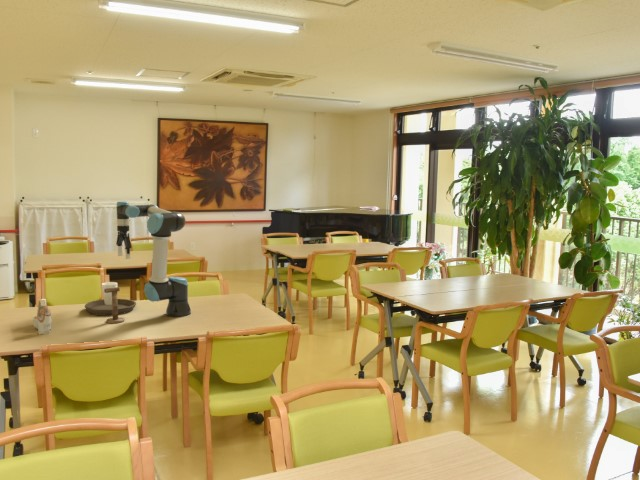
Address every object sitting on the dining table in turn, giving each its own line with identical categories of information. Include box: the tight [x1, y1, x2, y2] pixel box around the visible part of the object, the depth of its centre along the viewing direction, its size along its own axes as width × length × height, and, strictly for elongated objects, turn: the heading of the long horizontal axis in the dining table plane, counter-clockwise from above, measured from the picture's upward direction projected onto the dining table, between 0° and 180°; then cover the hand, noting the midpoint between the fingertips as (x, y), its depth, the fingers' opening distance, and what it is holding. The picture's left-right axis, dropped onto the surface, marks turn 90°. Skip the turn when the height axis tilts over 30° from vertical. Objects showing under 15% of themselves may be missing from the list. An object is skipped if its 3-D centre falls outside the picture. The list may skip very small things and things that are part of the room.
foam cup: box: [101, 281, 118, 305], centre depth 373 cm, size 10×9×13 cm
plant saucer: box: [84, 298, 137, 316], centre depth 374 cm, size 31×31×5 cm
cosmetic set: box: [32, 298, 52, 335], centre depth 330 cm, size 25×9×19 cm, turn 32°
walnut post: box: [104, 286, 125, 325], centre depth 347 cm, size 10×10×20 cm
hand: (124, 257), depth 385 cm, fingers open, 13 cm apart
